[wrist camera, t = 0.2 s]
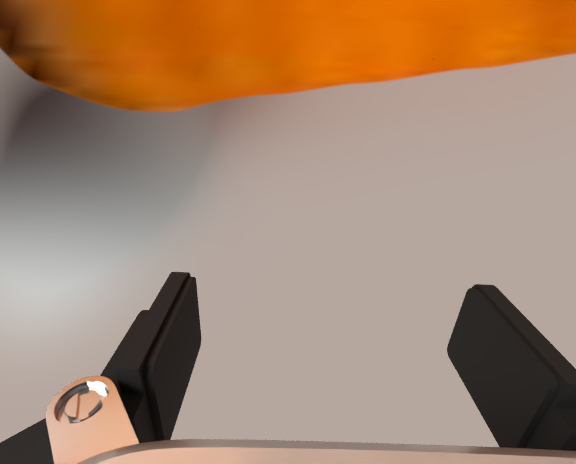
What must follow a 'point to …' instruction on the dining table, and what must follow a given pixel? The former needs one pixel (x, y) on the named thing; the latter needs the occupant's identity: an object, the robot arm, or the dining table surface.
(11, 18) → the dining table surface
